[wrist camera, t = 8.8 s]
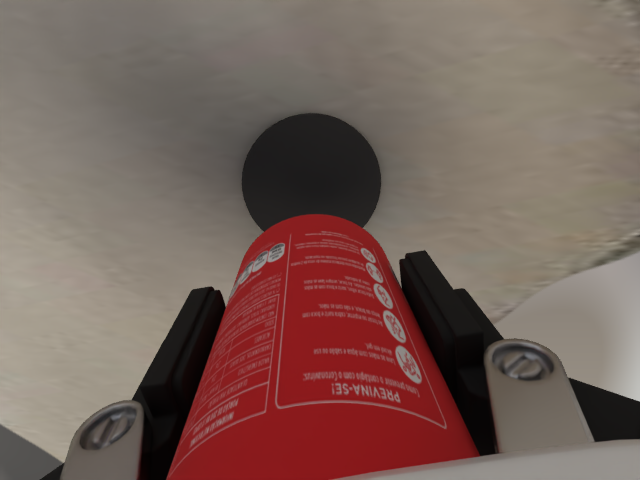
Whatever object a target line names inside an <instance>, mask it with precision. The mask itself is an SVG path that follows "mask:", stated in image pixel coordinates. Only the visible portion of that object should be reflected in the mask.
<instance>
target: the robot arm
mask: <svg viewBox="0 0 640 480" xmlns="http://www.w3.org/2000/svg"><path fill="white" fill-rule="evenodd" d="M399 264H400V275H401V285H402V291H403V293H404V295H405V297H406V299H407V301H408V303H409V305H410V308H411V310H412V312H413V314H414V316H415V318H416V320H417V322H418V325H419V327H420V329H421V331H422V333H423V335H424V337H425V340H426V342H427V344H428V346H429V348H430V350H431V352H432V354H433V357H434V359H435V361H436V363H437V365H438V367H439V369H440V371H441V374H442V376H443V378H444V380H445V382H446V384H447V386H448V388H449V391H450V393H451V395H452V397H453V399H454V401H455V403H456V405H457V408H458V410H459V412H460V414H461V416H462V418H463V420H464V423H465V425H466V427H467V429H468V431H469V433H470V435H471V437H472V440H473V442H474V444H475V446H476V448H477V450H478V452H479V454H480V457H473V458H466V459H459V460H452V461H445V462H439V463H432V464H425V465H418V466H411V467H404V468H398V469H391V470H384V471H377V472H371V473H365V474H360V475H354V476H349V477H343V478H338V479H332V480H640V402H639V401H636V400H633V399H630V398H627V397H624V396H621V395H618V394H615V393H613V392H609V391H606V390H604V389H601V388H598V387H595V386H592V385H589V384H586V383H583V382H580V381H577V380H574V379H571V378H568V377H567V374H566V372H565V369H564V367H563V365H562V362H561V361H560V359H559V358H558V356H557V355H556V354H555V353H553V352H552V351H551V350H550V349H548V348H547V347H545V346H543V345H540V344H538V343H536V342H532V341H529V340H523V339H504V338H503V337H502V336H501V335H500V333H499V332H498V331H497V330H496V328H495V327H494V326H493V324H492V323H491V322H490V320H489V319H488V318H487V317H486V315H485V314H484V313H483V311H482V310H481V309H480V308H479V306H478V305H477V304H476V302H475V301H474V300H473V299H472V297H471V296H470V295H469V293H468V292H467V291H466V290H465V289H463V288H461V289H455V290H453V288H452V287H451V286H450V284H449V283H448V281H447V280H446V279H445V277H444V276H443V274H442V273H441V272H440V270H439V269H438V267H437V266H436V265H435V263H434V262H433V261H432V259H431V258H430V256H429V255H428V254H427V252H426V251H425V250H424V251H418V252H413V253H407V254H406V255H405V259H400V261H399ZM225 309H226V307H225V303H224V300H223V297H222V294H221V292H220V290H214V288H213V287H212V286H211V287H205V288H199V289H193V290H192V291H191V292H190V294H189V296H188V298H187V300H186V302H185V303H184V305H183V307H182V309H181V311H180V313H179V315H178V316H177V318H176V320H175V322H174V324H173V326H172V327H171V329H170V331H169V333H168V335H167V337H166V339H165V340H164V341H163V343H162V345H161V347H160V349H159V350H158V352H157V354H156V356H155V358H154V360H153V362H152V363H151V365H150V367H149V369H148V371H147V373H146V374H145V376H144V378H143V380H142V382H141V384H140V385H139V387H138V389H137V391H136V393H135V395H134V397H133V398H132V400H124V401H120V402H116V403H113V404H111V405H108V406H106V407H104V408H102V409H101V410H99V411H97V412H96V413H94V414H93V415H92V416H90V417H89V418H88V419H87V420H86V421H85V422H83V424H82V425H81V426H80V427H79V429H78V430H77V431H76V433H75V435H74V437H73V439H72V441H71V444H70V447H69V451H68V454H67V457H66V460H65V463H63V464H62V465H61V466H59V467H57V468H56V469H55V470H53V471H52V472H50V473H49V474H47V475H46V476H45V477H43V478H42V479H40V480H166V479H167V476H168V473H169V470H170V467H171V464H172V461H173V458H174V456H175V453H176V450H177V447H178V444H179V441H180V438H181V435H182V433H183V430H184V427H185V424H186V421H187V418H188V415H189V412H190V410H191V407H192V404H193V401H194V398H195V395H196V392H197V389H198V387H199V384H200V381H201V378H202V375H203V372H204V369H205V366H206V364H207V361H208V358H209V355H210V352H211V349H212V346H213V343H214V341H215V338H216V335H217V332H218V329H219V326H220V323H221V320H222V318H223V315H224V312H225Z"/></svg>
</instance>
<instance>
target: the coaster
mask: <svg viewBox="0 0 640 480" xmlns="http://www.w3.org/2000/svg"><path fill="white" fill-rule="evenodd" d="M380 187H381V175H380V169H379V164H378V161H377V158H376V156H375V154H374V152H373V149H372V148H371V146H370V145H369V143H368V142H367V140H366V139H365V138H364V137H363V136H362V135H361V134H360V133H359V132H358V131H357V130H356V129H355V128H353V127H352V126H350V125H349V124H347V123H346V122H344V121H342V120H340V119H337V118H335V117H331V116H328V115H323V114H310V113H308V114H299V115H295V116H291V117H288V118H286V119H283V120H281V121H279V122H277V123H276V124H274V125H272V126H271V127H270V128H268V129H267V130H266V131H265V132H264V133H263V134H262V135H261V136H260V137H259V138H258V139H257V140H256V142H255V143H254V145H253V146H252V148H251V150H250V151H249V153H248V155H247V158H246V161H245V164H244V168H243V174H242V190H243V196H244V200H245V203H246V206H247V208H248V211H249V213H250V215H251V216H252V218H253V219H254V221H255V222H256V224H257V225H258V226H259V227H260V228H261V229H262V230H263V231H264V232H265V231H266V230H267V229H269V228H270V227H272V226H274V225H275V224H277V223H279V222H281V221H284V220H286V219H289V218H293V217H296V216H301V215H309V214H323V215H331V216H336V217H340V218H343V219H346V220H348V221H351V222H353V223H355V224H357V225H358V226H360V227H361V228H363V227H364V226H365V224H366V223H367V222H368V220H369V219H370V217H371V216H372V214H373V212H374V210H375V208H376V205H377V202H378V199H379V195H380Z"/></svg>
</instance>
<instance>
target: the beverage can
mask: <svg viewBox="0 0 640 480" xmlns="http://www.w3.org/2000/svg"><path fill="white" fill-rule="evenodd" d="M473 457H480V454H479V452H478V450H477V448H476V446H475V444H474V442H473V440H472V437H471V435H470V433H469V431H468V429H467V427H466V425H465V423H464V420H463V418H462V416H461V414H460V412H459V410H458V408H457V405H456V403H455V401H454V399H453V397H452V395H451V393H450V391H449V388H448V386H447V384H446V382H445V380H444V378H443V376H442V374H441V371H440V369H439V367H438V365H437V363H436V361H435V359H434V357H433V354H432V352H431V350H430V348H429V346H428V344H427V342H426V340H425V337H424V335H423V333H422V331H421V329H420V327H419V325H418V322H417V320H416V318H415V316H414V314H413V312H412V310H411V308H410V305H409V303H408V301H407V299H406V297H405V295H404V293H403V291H402V288H401V286H400V284H399V282H398V280H397V278H396V276H395V274H394V271H393V269H392V267H391V265H390V263H389V261H388V259H387V257H386V254H385V253H384V251H383V249H382V247H381V246H380V245H379V243H378V242H377V241H376V240H375V239H374V238H373V237H372V235H370V234H369V233H368V232H367V231H366V230H364V229H363V228H361V227H360V226H358V225H357V224H355V223H353V222H351V221H348V220H346V219H343V218H340V217H336V216H331V215H323V214H309V215H301V216H296V217H293V218H289V219H286V220H284V221H281V222H279V223H277V224H275V225H274V226H272V227H270V228H269V229H267V230H266V231H265V232H263V233H262V234H261V235H260V236H259V237H258V238H257V239H256V240H255V241H254V242H253V243H252V245H251V246H250V247H249V249H248V251H247V252H246V254H245V256H244V258H243V261H242V263H241V266H240V269H239V272H238V274H237V277H236V280H235V283H234V286H233V289H232V292H231V295H230V297H229V300H228V303H227V306H226V309H225V312H224V315H223V318H222V320H221V323H220V326H219V329H218V332H217V335H216V338H215V341H214V343H213V346H212V349H211V352H210V355H209V358H208V361H207V364H206V366H205V369H204V372H203V375H202V378H201V381H200V384H199V387H198V389H197V392H196V395H195V398H194V401H193V404H192V407H191V410H190V412H189V415H188V418H187V421H186V424H185V427H184V430H183V433H182V435H181V438H180V441H179V444H178V447H177V450H176V453H175V456H174V458H173V461H172V464H171V467H170V470H169V473H168V476H167V479H166V480H332V479H338V478H343V477H349V476H354V475H360V474H365V473H371V472H377V471H384V470H391V469H398V468H404V467H411V466H418V465H425V464H432V463H439V462H445V461H452V460H459V459H466V458H473Z"/></svg>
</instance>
